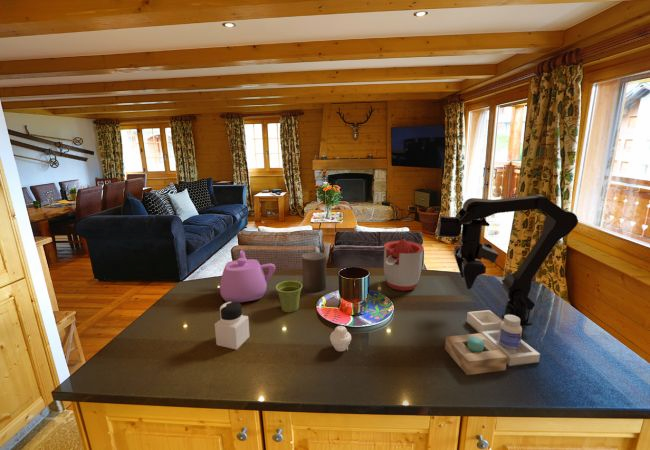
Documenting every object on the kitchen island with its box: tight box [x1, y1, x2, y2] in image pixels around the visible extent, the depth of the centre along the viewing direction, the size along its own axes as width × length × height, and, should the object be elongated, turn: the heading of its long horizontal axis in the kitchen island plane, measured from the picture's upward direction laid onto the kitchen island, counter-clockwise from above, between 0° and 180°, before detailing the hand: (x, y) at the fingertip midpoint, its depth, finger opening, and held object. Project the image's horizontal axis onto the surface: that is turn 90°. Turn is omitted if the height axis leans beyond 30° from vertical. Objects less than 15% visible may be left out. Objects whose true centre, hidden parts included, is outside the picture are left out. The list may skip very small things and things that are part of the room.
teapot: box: [219, 249, 276, 303], centre depth 130 cm, size 23×21×15 cm
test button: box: [467, 337, 484, 353], centre depth 90 cm, size 4×4×4 cm
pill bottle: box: [498, 315, 523, 354], centre depth 93 cm, size 5×5×10 cm
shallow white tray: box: [481, 330, 541, 367], centre depth 94 cm, size 9×12×2 cm
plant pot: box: [275, 280, 303, 313], centre depth 117 cm, size 9×9×9 cm
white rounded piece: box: [329, 325, 352, 352], centre depth 95 cm, size 6×6×7 cm
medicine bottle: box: [214, 301, 250, 350], centre depth 98 cm, size 7×7×12 cm
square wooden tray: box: [444, 332, 508, 376], centre depth 90 cm, size 11×11×4 cm
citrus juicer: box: [383, 238, 424, 292], centre depth 133 cm, size 16×17×20 cm
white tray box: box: [466, 309, 504, 333], centre depth 105 cm, size 8×8×4 cm
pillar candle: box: [301, 251, 327, 293], centre depth 133 cm, size 10×10×15 cm
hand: (465, 282), depth 110 cm, fingers open, 9 cm apart
